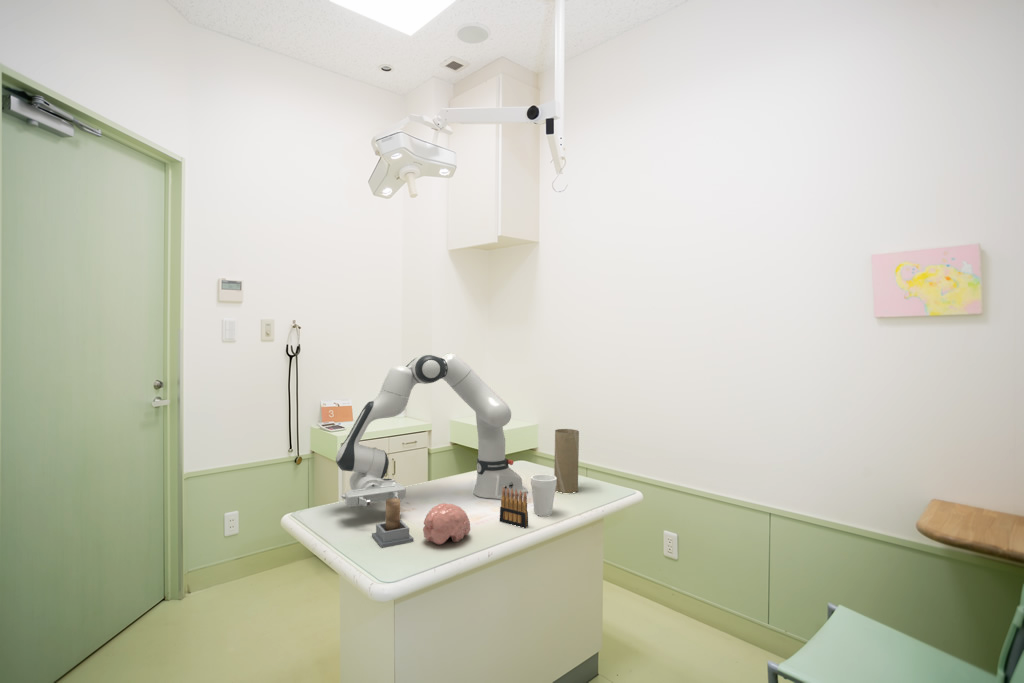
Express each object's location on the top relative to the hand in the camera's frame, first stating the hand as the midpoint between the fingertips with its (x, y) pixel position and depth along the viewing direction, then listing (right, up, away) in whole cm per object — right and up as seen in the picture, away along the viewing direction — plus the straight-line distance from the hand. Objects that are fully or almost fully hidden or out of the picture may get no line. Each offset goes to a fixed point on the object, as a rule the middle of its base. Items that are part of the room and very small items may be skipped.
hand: (382, 501), depth 166 cm
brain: (+23, -9, -9) cm, 26 cm away
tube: (+66, -10, +46) cm, 81 cm away
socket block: (+6, -9, -10) cm, 14 cm away
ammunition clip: (+43, -10, +5) cm, 45 cm away
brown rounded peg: (+6, -8, -10) cm, 13 cm away
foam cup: (+54, -10, +16) cm, 57 cm away
